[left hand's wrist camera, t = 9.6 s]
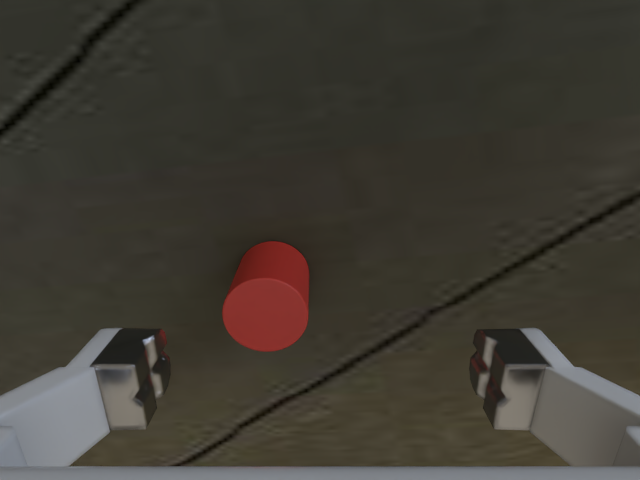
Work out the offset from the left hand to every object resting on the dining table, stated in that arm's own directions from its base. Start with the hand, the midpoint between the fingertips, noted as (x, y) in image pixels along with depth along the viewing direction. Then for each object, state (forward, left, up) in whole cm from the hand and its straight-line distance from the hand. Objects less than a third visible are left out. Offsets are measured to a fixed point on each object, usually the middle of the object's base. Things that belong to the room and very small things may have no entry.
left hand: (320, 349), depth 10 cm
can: (+1, +4, -12) cm, 12 cm away
